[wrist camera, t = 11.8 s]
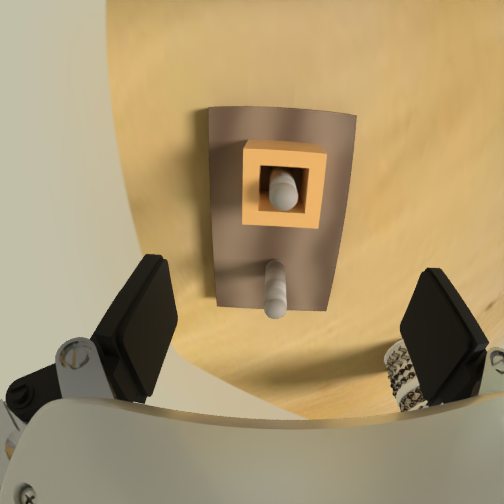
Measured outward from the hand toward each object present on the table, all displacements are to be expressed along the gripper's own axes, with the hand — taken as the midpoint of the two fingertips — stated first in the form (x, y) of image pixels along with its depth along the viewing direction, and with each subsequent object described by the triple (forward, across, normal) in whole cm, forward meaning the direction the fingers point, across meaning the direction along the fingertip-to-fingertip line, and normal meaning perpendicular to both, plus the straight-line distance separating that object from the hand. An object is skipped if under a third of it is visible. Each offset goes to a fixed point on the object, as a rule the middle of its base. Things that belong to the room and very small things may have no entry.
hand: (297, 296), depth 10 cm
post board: (+20, 0, +5) cm, 20 cm away
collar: (+18, 0, 0) cm, 18 cm away
